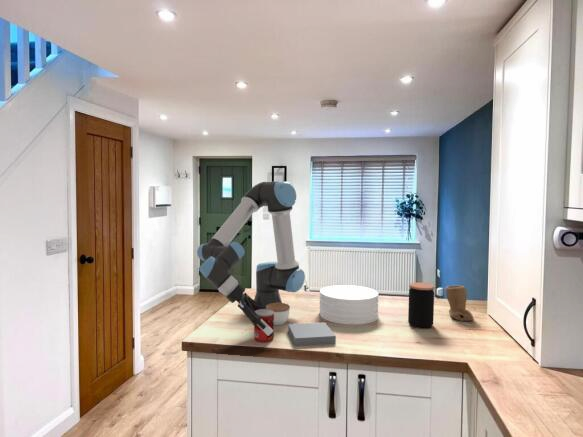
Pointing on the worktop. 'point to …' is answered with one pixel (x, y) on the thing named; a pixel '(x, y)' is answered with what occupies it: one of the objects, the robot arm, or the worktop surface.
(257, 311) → the canned food
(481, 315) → the worktop surface
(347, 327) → the worktop surface
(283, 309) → the lidded jar
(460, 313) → the brown boot
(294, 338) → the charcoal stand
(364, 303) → the plate stack
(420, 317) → the coffee jar
